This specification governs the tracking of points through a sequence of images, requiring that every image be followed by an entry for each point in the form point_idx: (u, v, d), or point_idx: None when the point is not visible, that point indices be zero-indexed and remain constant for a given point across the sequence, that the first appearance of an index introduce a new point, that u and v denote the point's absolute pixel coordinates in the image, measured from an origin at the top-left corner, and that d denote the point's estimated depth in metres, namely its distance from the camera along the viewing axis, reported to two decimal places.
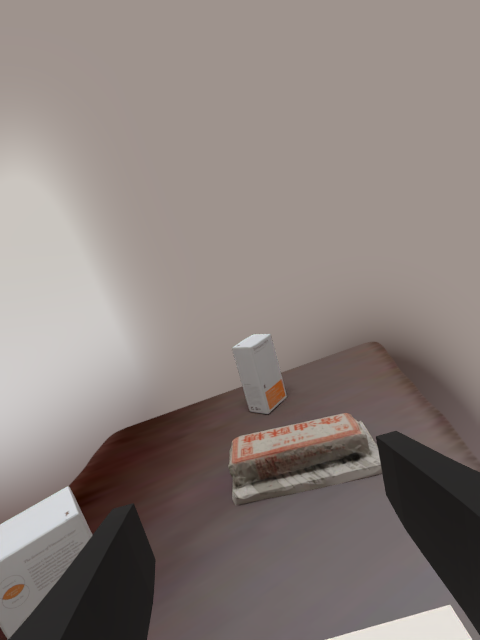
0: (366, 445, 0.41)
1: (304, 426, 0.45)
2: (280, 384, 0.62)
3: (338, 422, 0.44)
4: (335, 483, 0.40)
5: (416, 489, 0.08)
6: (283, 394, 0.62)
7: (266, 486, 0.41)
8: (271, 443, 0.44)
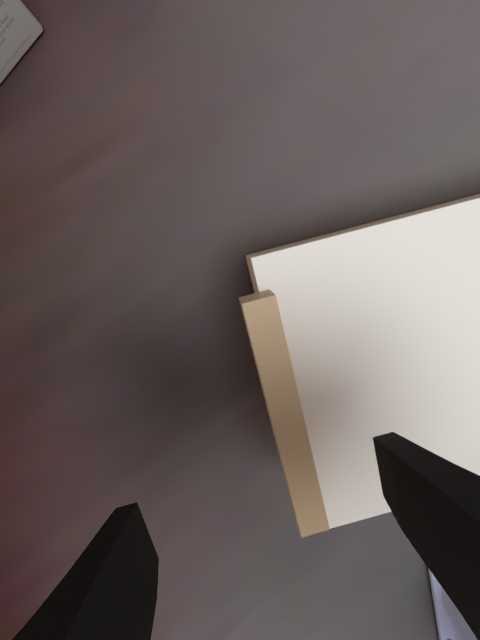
0: None
1: None
2: None
3: None
4: None
5: (413, 490, 0.08)
6: None
7: None
8: None
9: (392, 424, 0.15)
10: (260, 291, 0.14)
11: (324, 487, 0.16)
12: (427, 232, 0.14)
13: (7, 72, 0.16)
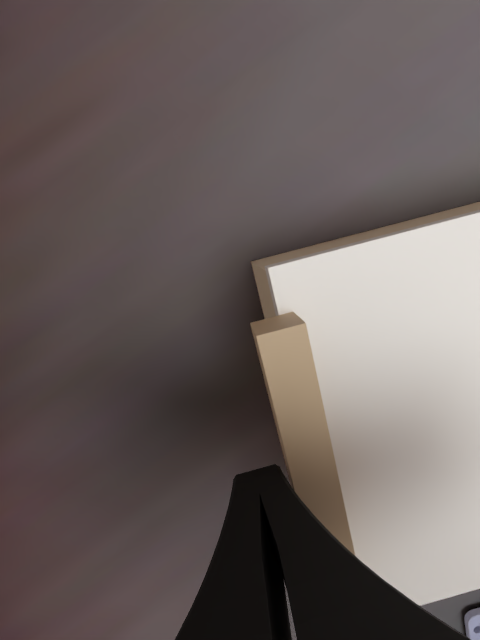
0: None
1: None
2: None
3: None
4: None
5: (270, 530, 0.08)
6: None
7: None
8: None
9: (454, 489, 0.11)
10: (280, 314, 0.10)
11: None
12: None
13: None
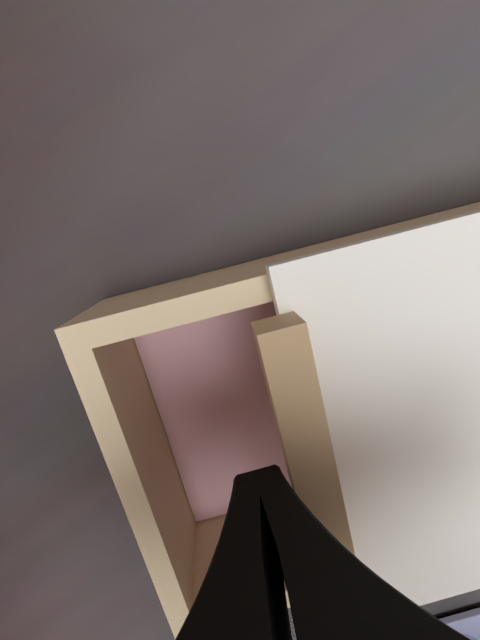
0: None
1: None
2: None
3: None
4: None
5: (270, 530, 0.08)
6: None
7: None
8: None
9: (454, 489, 0.11)
10: (281, 314, 0.10)
11: None
12: None
13: None
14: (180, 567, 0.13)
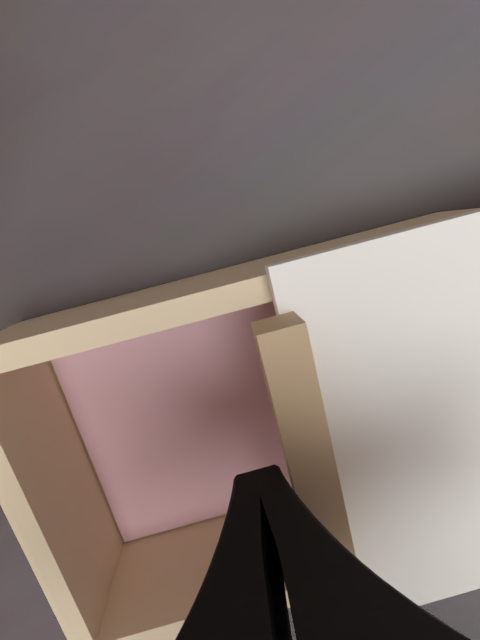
0: None
1: None
2: None
3: None
4: None
5: (270, 530, 0.08)
6: None
7: None
8: None
9: (454, 488, 0.11)
10: (281, 314, 0.10)
11: None
12: None
13: None
14: (86, 594, 0.13)
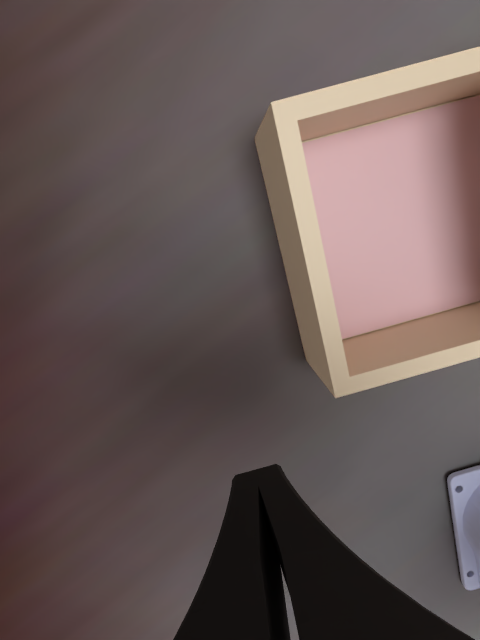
0: None
1: None
2: None
3: None
4: None
5: (272, 530, 0.08)
6: None
7: None
8: None
9: None
10: None
11: None
12: None
13: None
14: None
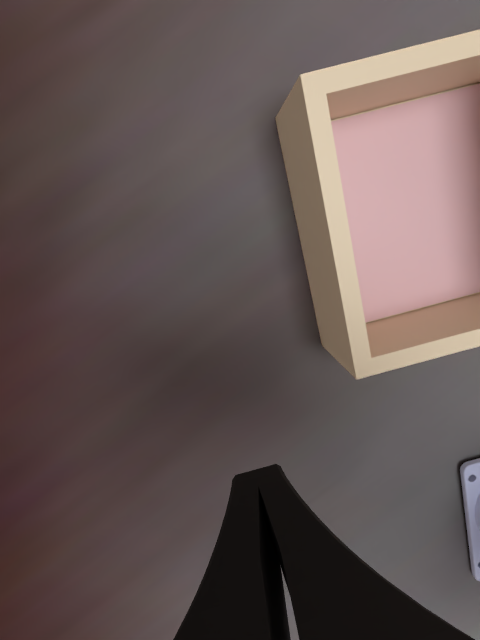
0: None
1: None
2: None
3: None
4: None
5: (272, 530, 0.08)
6: None
7: None
8: None
9: None
10: None
11: None
12: None
13: None
14: None
